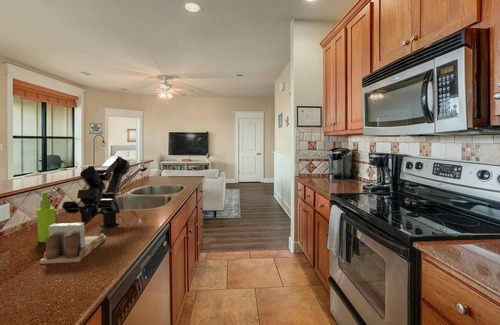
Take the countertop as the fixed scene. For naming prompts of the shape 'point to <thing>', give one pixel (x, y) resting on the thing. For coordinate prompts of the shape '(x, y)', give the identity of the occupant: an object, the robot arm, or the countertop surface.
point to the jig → (69, 248)
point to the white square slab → (67, 230)
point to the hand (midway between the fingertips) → (83, 225)
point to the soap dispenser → (45, 216)
